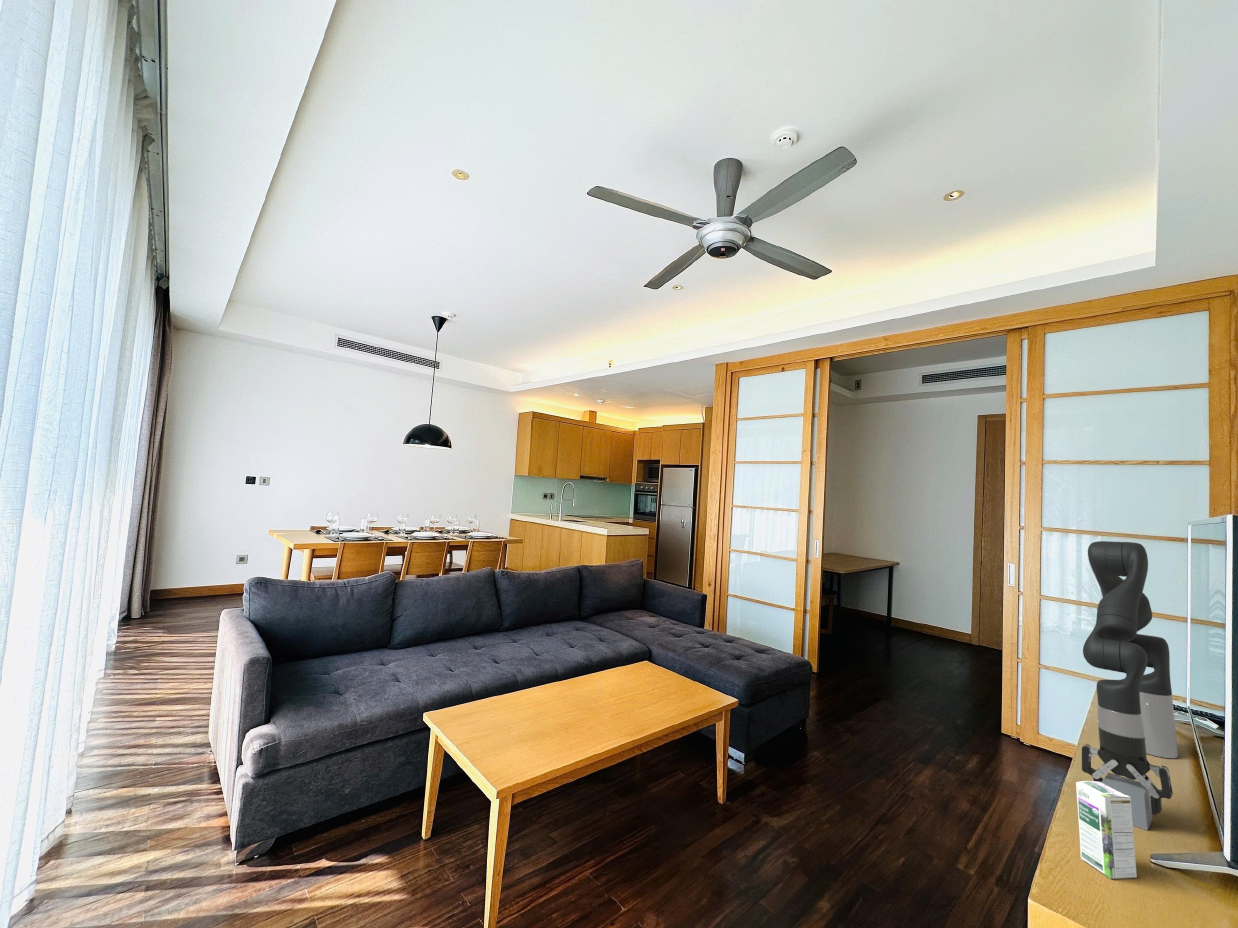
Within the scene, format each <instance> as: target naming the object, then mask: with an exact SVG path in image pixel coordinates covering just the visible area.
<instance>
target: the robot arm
mask: <svg viewBox="0 0 1238 928" xmlns="http://www.w3.org/2000/svg"><path fill="white" fill-rule="evenodd" d="M1087 548H1088V549H1087V557H1088V561H1089V565H1090V568H1091V570H1092V573H1093V574H1094V576H1095V579H1096V581H1097V583H1098V586H1099V588H1100V591H1101V596H1102V598H1101V599H1100V600H1099V603H1098V605H1097V608H1096V621H1095V625H1094V627H1093V629H1092V631H1091V632H1090V633H1089V635H1088V636H1087V638H1086V640H1085V642H1084V644H1083V647H1082V654H1083V658H1084V659H1085V661H1086V662H1087V663H1088V664H1089V665H1090V666H1091V667H1093V668H1097V669H1100V670H1106V671H1112V672H1118V673H1122V674H1125V677H1124V678H1122V679H1099V680H1098V681H1097V682H1096V699H1097V714H1096V715H1097V719H1096V722H1097V728H1098V737H1099V738H1098V739H1099V749H1098V748H1095V747H1093V746H1091V745H1090V744H1088V743H1085V744H1084V745H1083V746H1082V747H1081V771H1082V772H1083V773H1085V774H1088V775H1090V776H1091V777H1092V778H1093V779H1092V781H1096V782H1101V783H1102V780H1103V779H1104V777H1103V776H1104V775H1105V776H1106V775H1107V774H1108V773H1110V771H1111V773H1112V774H1115V775H1118V776H1121V777H1125V778H1128V779H1131V780H1134V781H1138V782H1140V783H1141V785H1142V786H1143V787H1145V788H1146V789H1147V790H1148V792H1149V793H1150V800H1151V811H1152V815H1153V816H1158V814H1159V815H1160V814H1161V813H1162V811H1163V805H1162V799H1167V800H1171V799H1172V797H1173V794H1174V792H1173V788H1172V787H1173V786H1172V783H1171V782H1172V781H1171V775H1170V770H1169V767H1167V766H1165V765H1161V766H1159V765H1155V764H1151V763H1150V762H1149V761H1148V755H1150V756H1153V757H1154V756H1155V757H1159V758H1165V759H1177V758H1179V753H1178V741H1177V731H1176V729H1177V728H1176V721H1175V712H1174V705H1173V704H1174V702H1173V690H1172V683H1171V669H1170V668H1171V665H1170V662H1171V661H1170V648H1169V647H1170V646H1169V644H1168V642H1167V641H1166V639H1165V638H1163V637H1161V636H1156V635H1155V636H1154V635H1148V634H1140V633H1138V632H1140V631H1141V630H1143V629H1144V628H1145V627H1147V626H1148V625H1149V624H1150V623H1151V621H1152V619H1153V612H1152V611H1153V610H1152V607H1151V603H1150V600H1149V598H1148V597H1147V595H1146V594H1145V593H1144V592H1143V591H1144V588H1145V584H1146V580H1147V576H1148V571H1149V560H1148V553H1147V550H1146V547H1144V546H1143V544H1141V543H1138V542H1133V541H1108V540H1107V541H1106V540H1101V541H1100V540H1099V541H1098V540H1097V541H1094V542H1091V543H1090V544H1089V545H1088V547H1087ZM1122 577H1125V578H1122ZM1147 668H1153V671H1152V672H1150V673H1145V672H1146V669H1147ZM1095 755H1097V756H1098V757H1099V758H1100V760H1101V761H1102V763H1103V764H1102V765H1101V766H1099V767H1098V768H1097V769H1095V768H1093V767H1092V758H1094V757H1095ZM1150 771H1152V772H1153V773H1154V775H1155V777H1158V778H1159V779H1160V785H1161V789H1159V788H1158V787H1157V785H1155V784H1154V782H1153V780H1152V779H1151V778H1150V776H1148V774H1147V773H1148V772H1150Z"/></svg>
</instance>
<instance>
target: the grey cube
mask: <svg viewBox="0 0 1238 928" xmlns="http://www.w3.org/2000/svg"><path fill="white" fill-rule="evenodd" d="M1102 783H1103V784H1105V785H1107V786H1109V787H1111V788H1113V789H1115V790H1116V791H1118V792H1120V793H1122V794H1124V795H1127V796H1129V797H1130V798H1131V808H1132V822H1133V827H1136V828H1139V829H1142V830H1144V831H1148V830H1149V829H1150V826H1151V824H1152V822H1153V814H1152V809H1151V798H1150V796H1151V794H1150V793H1149V792H1148V790H1147V789H1146V788H1145V787H1143V786H1142V785H1141V783H1140V782H1139V781H1138V780H1135V779H1134V780H1132V779H1129V778H1127V777H1125V776H1119V775H1115V774H1114V773H1113V772H1107V773H1106V774H1105V777H1103V780H1102Z"/></svg>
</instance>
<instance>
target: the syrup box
mask: <svg viewBox="0 0 1238 928" xmlns="http://www.w3.org/2000/svg"><path fill="white" fill-rule="evenodd" d="M1075 788H1076V804H1077V817H1078V831H1079V833H1078V834H1079V848H1080V849H1079V851H1080V859H1081V860H1082V861H1083V862H1086V863H1088V865H1090V866H1092V867H1093V868H1095V869H1096V870H1097V871H1099V872H1100V873H1102V874H1103V875H1104V876H1106V877H1107V878H1109V879H1111V880H1113V879H1114V880H1117V879H1120V880H1121V879H1133V878H1137V877H1138V875H1137V864H1136V863H1137V861H1136V852H1135V851H1136V850H1135V848H1136V847H1135V836H1134V826H1133V822H1132V808H1131V798H1130V797H1129V796H1127V795H1124V794H1122V793H1120V792H1118V791H1116V790H1115V789H1113V788H1111V787H1109V786H1107V785H1105V784H1103V783H1101V782H1096V781H1094V780H1084V781H1083V780H1082V781H1076V782H1075Z"/></svg>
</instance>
